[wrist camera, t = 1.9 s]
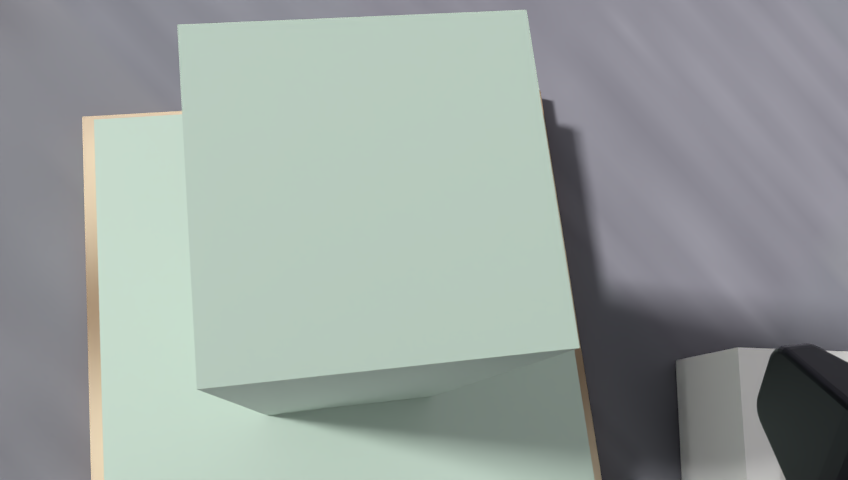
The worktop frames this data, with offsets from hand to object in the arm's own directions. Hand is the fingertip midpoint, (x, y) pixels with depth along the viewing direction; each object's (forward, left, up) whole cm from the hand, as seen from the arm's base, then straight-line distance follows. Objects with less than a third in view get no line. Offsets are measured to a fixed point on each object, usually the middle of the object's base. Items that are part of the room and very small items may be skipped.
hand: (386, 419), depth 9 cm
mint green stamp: (+2, -1, -9) cm, 10 cm away
